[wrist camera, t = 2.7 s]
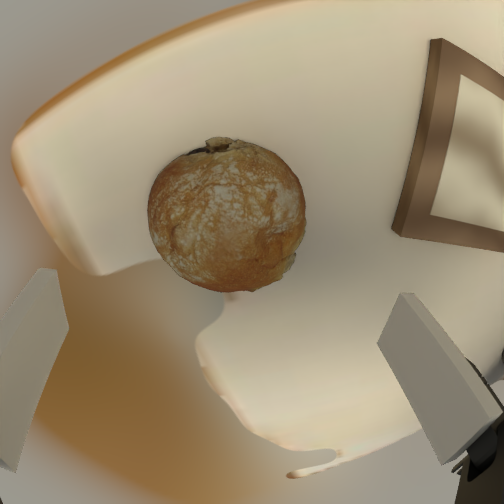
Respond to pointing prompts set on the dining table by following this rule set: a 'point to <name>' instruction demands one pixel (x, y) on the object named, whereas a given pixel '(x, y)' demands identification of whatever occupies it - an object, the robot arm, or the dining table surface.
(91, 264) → the dining table surface
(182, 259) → the bread roll
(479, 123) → the walnut frame
